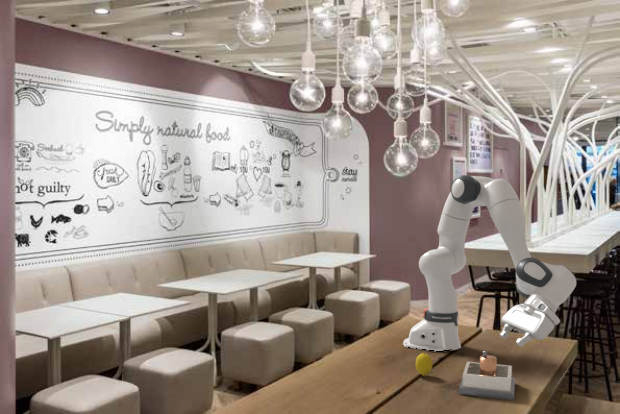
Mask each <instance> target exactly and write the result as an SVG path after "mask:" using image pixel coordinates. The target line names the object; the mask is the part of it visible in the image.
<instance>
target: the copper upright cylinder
mask: <svg viewBox="0 0 620 414" xmlns="http://www.w3.org/2000/svg"><path fill="white" fill-rule="evenodd" d="M479 363H480V375H486V376H496V364H498V363H497V357H496V356H494V355H489V354H488V351H487V350H482V355H480V356H479Z"/></svg>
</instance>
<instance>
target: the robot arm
mask: <svg viewBox="0 0 620 414" xmlns="http://www.w3.org/2000/svg"><path fill="white" fill-rule="evenodd" d="M451 183H452V184H451V186H450V192H449V194H448V196H447V199H446V201H445V203H444V206H443V209H442V212H441V215H440V219H439V223H438V226H437V234H438V237H439V240H438V242H439V243H438V247H437V248H436V249H431V250H430V249H429V250H428V251H427V252H425V253H424V254H422V255H421V256H420V258H419V260H418V268H419V271H420V273H421V274H422V275H423V276H424V279H425V282H426V287H427V291H428V308H425V309H424V310H423V314H422V315H423V316H422V317H423V319H422V320H420V321H419V322H417V323H416V324H415V325H413V326H412V327H411V328H410V330H409V334H408V337H407V338H405V339H404V340H403V342H402V343H403V344H402V345H404V346H403V347H405V348H408V347H410V348H409V349H415V350H422V349H426V350H425V351H429V350H434V351H433V352H436V351H443V350H448V349H452V350H451V351H456V350H459V349H461V348H462V346H461V345H462V344H461V341H460V338H459V328H458V326H459V311H458V291H457V289H456V288H455V286H454V284H453V280H452V279H453V278H452V275H454V274H457V273H459V272H460V271H462V270H463V269H464V268H465V267H466V265H467V256H466V254H465V246H466V245H465V244H466V237H467V235H468V234H467V233H468V231H469V230H468V229H469V226H470V222H471V220H472V215H473V213H474V212H473V211H474V210H475V208H476V207H482V208H484V207H485V208H487V210H488V212H489V216H490V218H491V220H492V222H493V225H494V227H495V228H496V230H497V231H498V233H499V234H500V236H501V238H502V240H503V242H504V244H505V245H506V248H507V250H508V252H509V255H510V258H511V261H512V263H513V266H514V269H515V280H516V281H515V288H516V291H517V293H518V294H519V295H520V296H521V297H522V298H525V299H526V300H525V301H524V302H523V303H519V304H515V305H514V306H512V307H511V308H509V310H508V311H506V312H505V313H504V314H503V315H502V316H501V323H503V324H504V326H503V328H502V331H501V332H500V333H499V336H500V338H502V339H504V340H506V339H507V338H508V337H509V335H508V334H509V333H510V332H512V330H513V331H514V330H515V331H516V332H519V333H521V334H524V335H523V336H522V337H521V338H517V340H516V342H515V344H516V345H517V346H518V347H524V345H526V344H527V343H529V342H531V341H532V340H533V339H535V340H537V341H542V340H544V339H546V338H547V337H548V336H549V334H551V332H552V331H553V330H554V328H555V326H558V325H559V324H560V323H561V320H560V318H559V316H558V315H556V312H557V310H558V309H559V306H560V305H562V304H563V303H565V301H567V299H568V298H569V297H570V295H571V294H572V293H573V291H574V290H575V288H576V287H577V278H576V276H575V274H574V273H573V272H572V270H570V269H569V268H568V267H566V266H565V265H561V264H559V265H557V264H556V265H555V264H550V263H548V262H544V261H541V260H540V259H538V258H535V257H532V256H531V254H530V251H529V249H528V246H527V241H526V217H525V213H524V208H523V206H522V203H521V201H520V198H519V197H518V194H517V193H516V190H515V189H514V188H513V186H512V185H511V183H510V182H509V181H508V180H506V179H505V178H492V177H487V176H480V175H479V176H478V175H468V174H464V175H463V174H462V175H459V176H457V177H455V178H454V179H453V181H452V182H451ZM416 348H417V349H416Z"/></svg>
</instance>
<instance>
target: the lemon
mask: <svg viewBox="0 0 620 414" xmlns="http://www.w3.org/2000/svg"><path fill="white" fill-rule="evenodd" d="M415 369H416V371H417V372H418V374H420V375H421V376H423V377H426V375H428V374H430V373H431V371H432V369H433V361H432V358H431V356H430V355H429V354H427V353H426V352H421V353H419V355H418V356H416V359H415Z"/></svg>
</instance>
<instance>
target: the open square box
mask: <svg viewBox="0 0 620 414" xmlns="http://www.w3.org/2000/svg"><path fill="white" fill-rule="evenodd" d="M512 370H513V365H506V364H498V363H497V364H496V376H486V375H480V362H476V361H475V362H473V361H466V364H465V366H464V370H463V373H462V378H461V380H460V384H459V387H458V394H459V395H465V396H473V397H479V398H480V397H483V398H489V399H491V398H492V399H499V400H509V401H510V400H511V401H515V389H516V377H515V376H514V377H513V371H512Z"/></svg>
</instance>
